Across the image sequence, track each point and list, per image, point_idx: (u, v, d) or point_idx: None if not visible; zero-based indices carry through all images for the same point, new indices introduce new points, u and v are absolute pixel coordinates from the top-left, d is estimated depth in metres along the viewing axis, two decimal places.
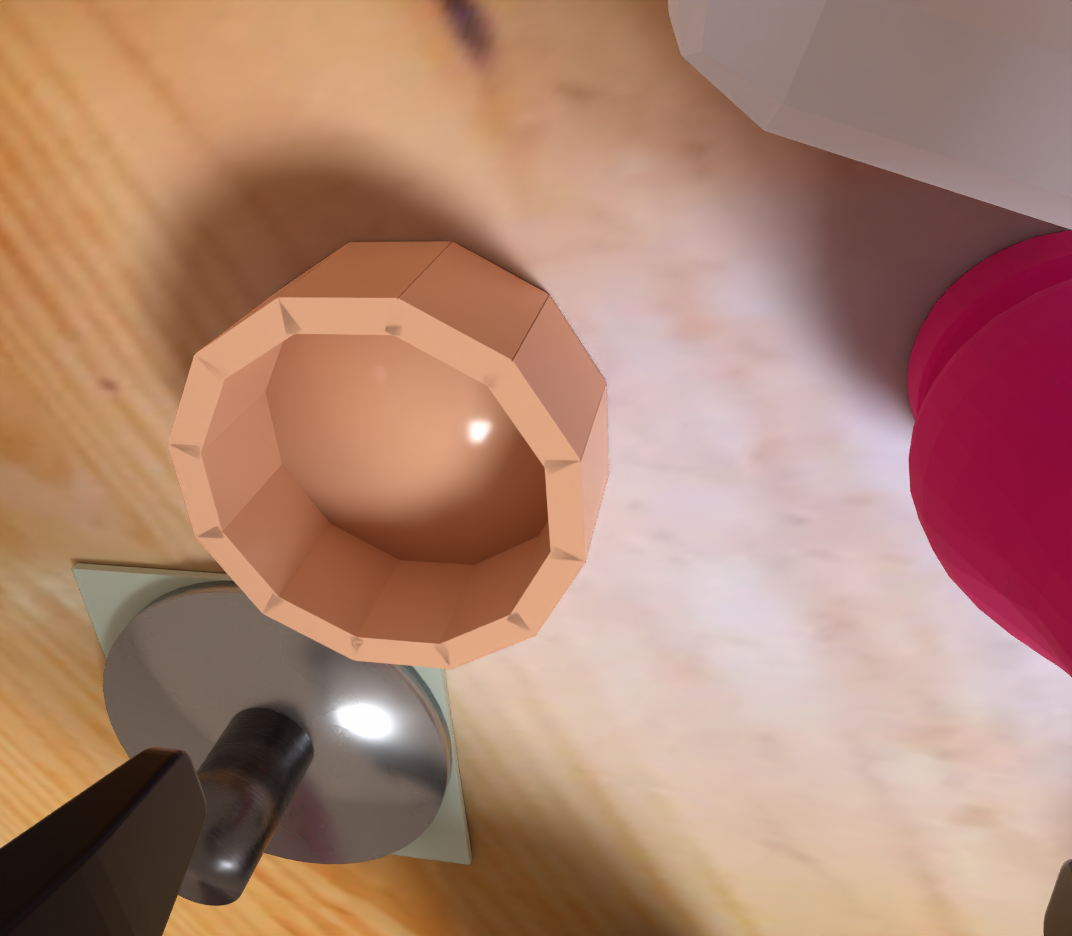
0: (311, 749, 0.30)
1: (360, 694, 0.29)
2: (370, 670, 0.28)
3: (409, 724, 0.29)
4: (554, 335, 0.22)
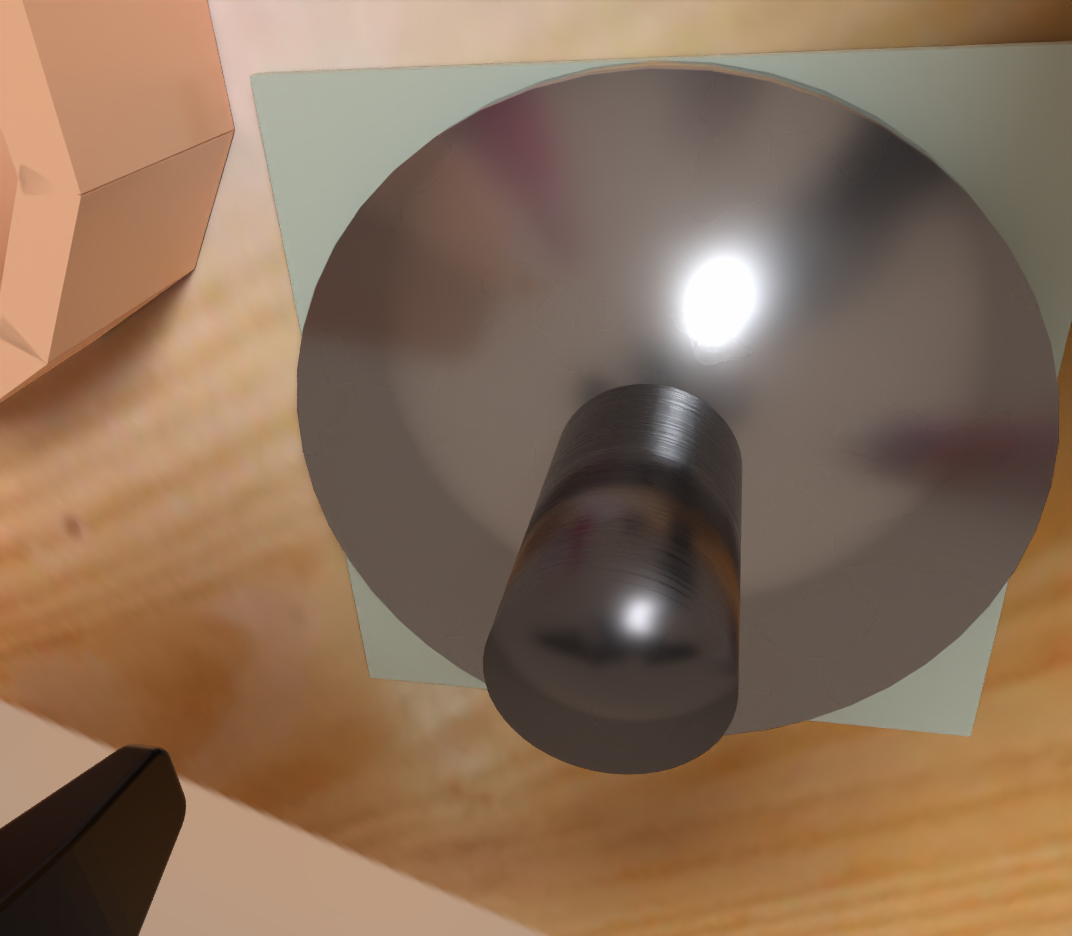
0: (643, 387, 0.14)
1: (477, 251, 0.14)
2: (406, 218, 0.14)
3: (543, 149, 0.13)
4: None
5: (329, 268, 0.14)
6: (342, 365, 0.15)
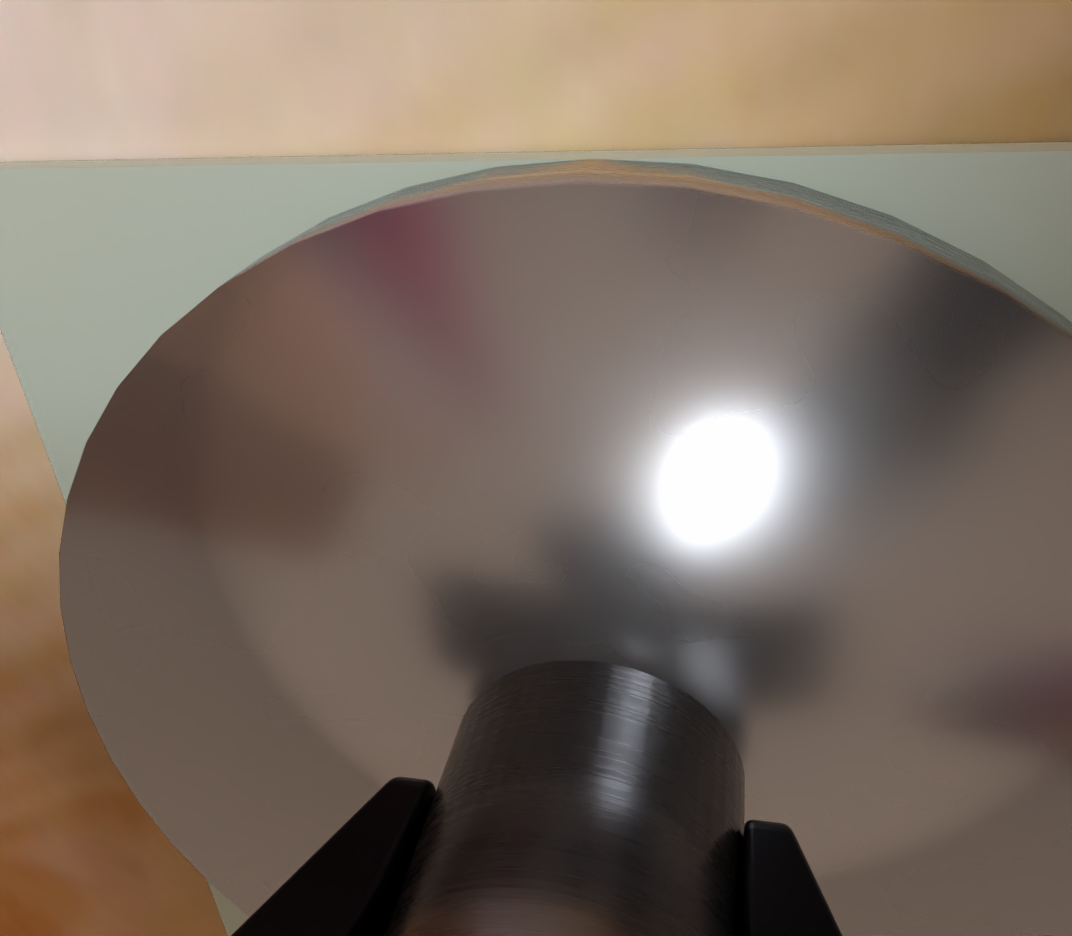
0: (585, 671, 0.09)
1: (308, 460, 0.08)
2: (190, 407, 0.08)
3: (402, 312, 0.07)
4: None
5: (83, 474, 0.09)
6: (125, 606, 0.10)
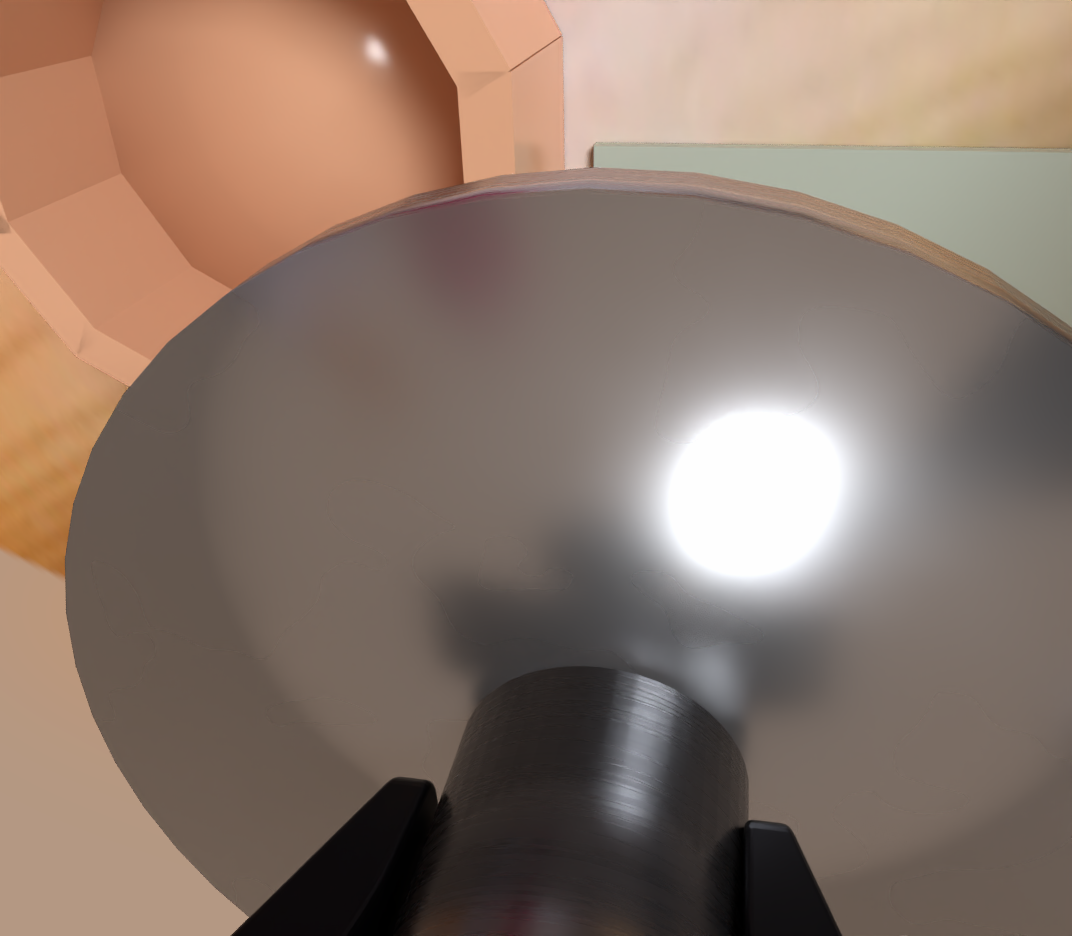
0: (590, 677, 0.09)
1: (314, 466, 0.08)
2: (197, 414, 0.08)
3: (408, 320, 0.07)
4: None
5: (89, 480, 0.09)
6: (130, 611, 0.10)
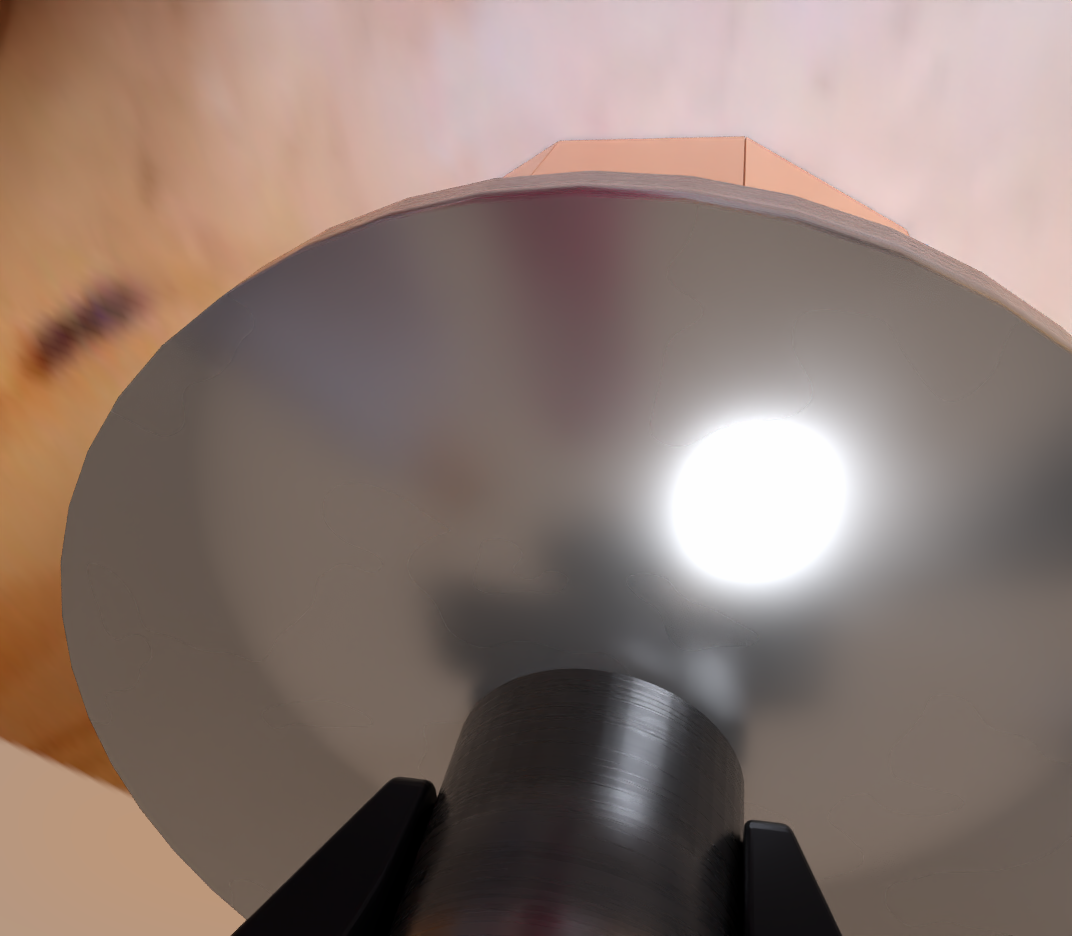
0: (585, 679, 0.09)
1: (309, 470, 0.08)
2: (192, 416, 0.08)
3: (403, 323, 0.07)
4: None
5: (84, 482, 0.09)
6: (126, 613, 0.10)
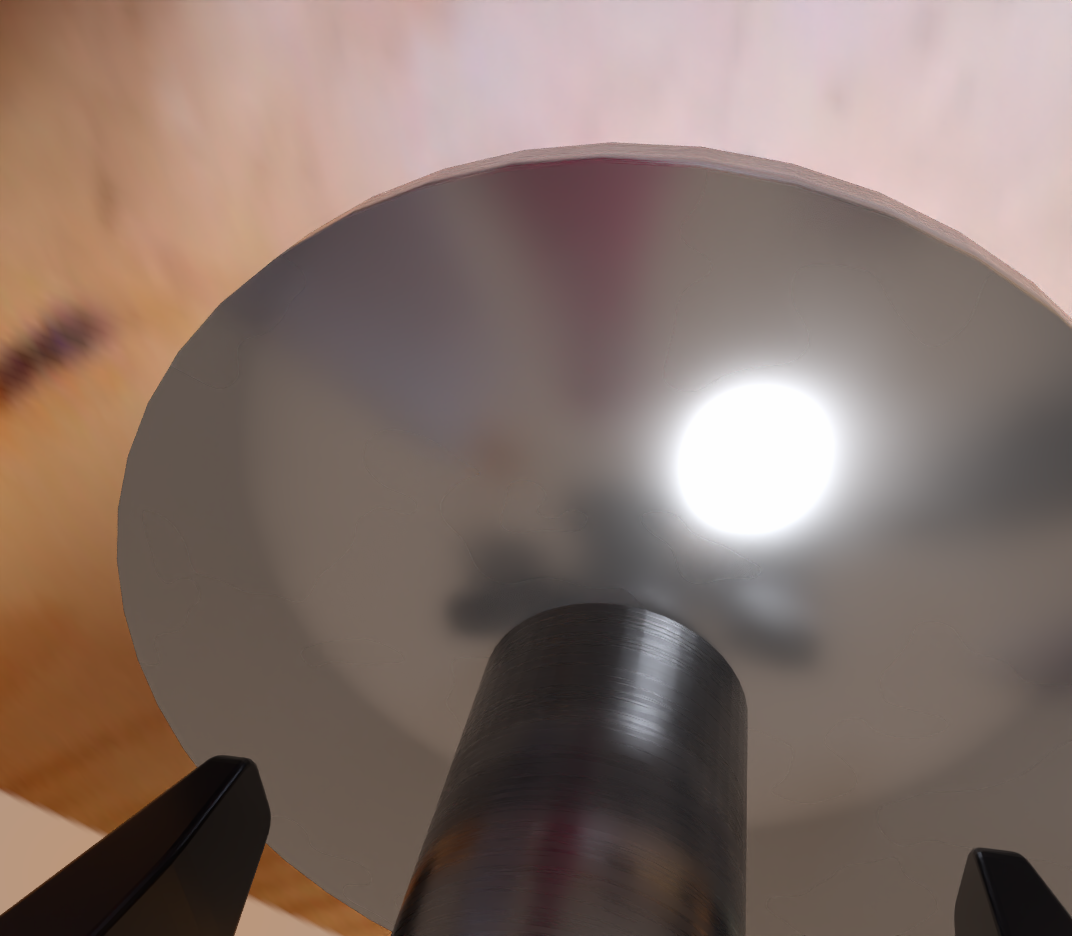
0: (602, 611, 0.10)
1: (352, 417, 0.09)
2: (245, 370, 0.09)
3: (441, 280, 0.08)
4: None
5: (143, 433, 0.10)
6: (177, 558, 0.11)
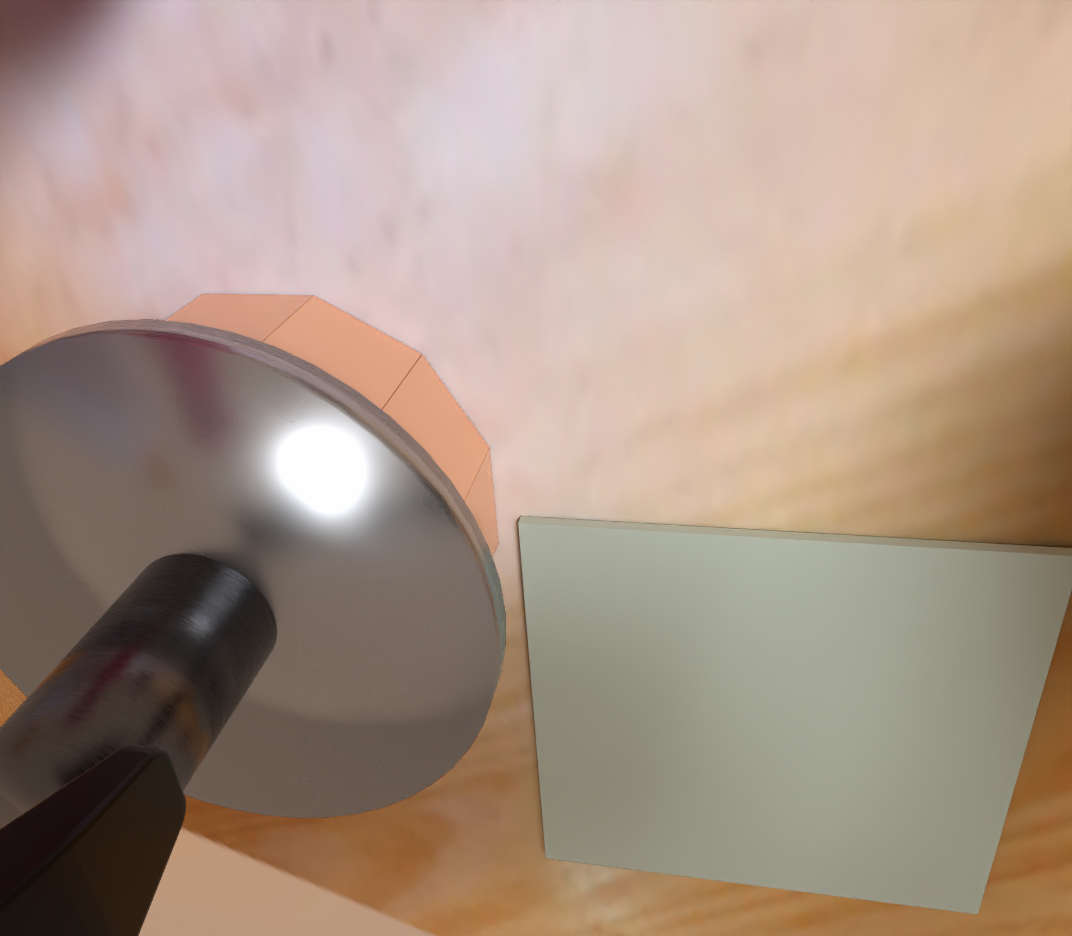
0: (181, 558, 0.18)
1: (38, 454, 0.17)
2: None
3: (66, 387, 0.17)
4: None
5: None
6: None
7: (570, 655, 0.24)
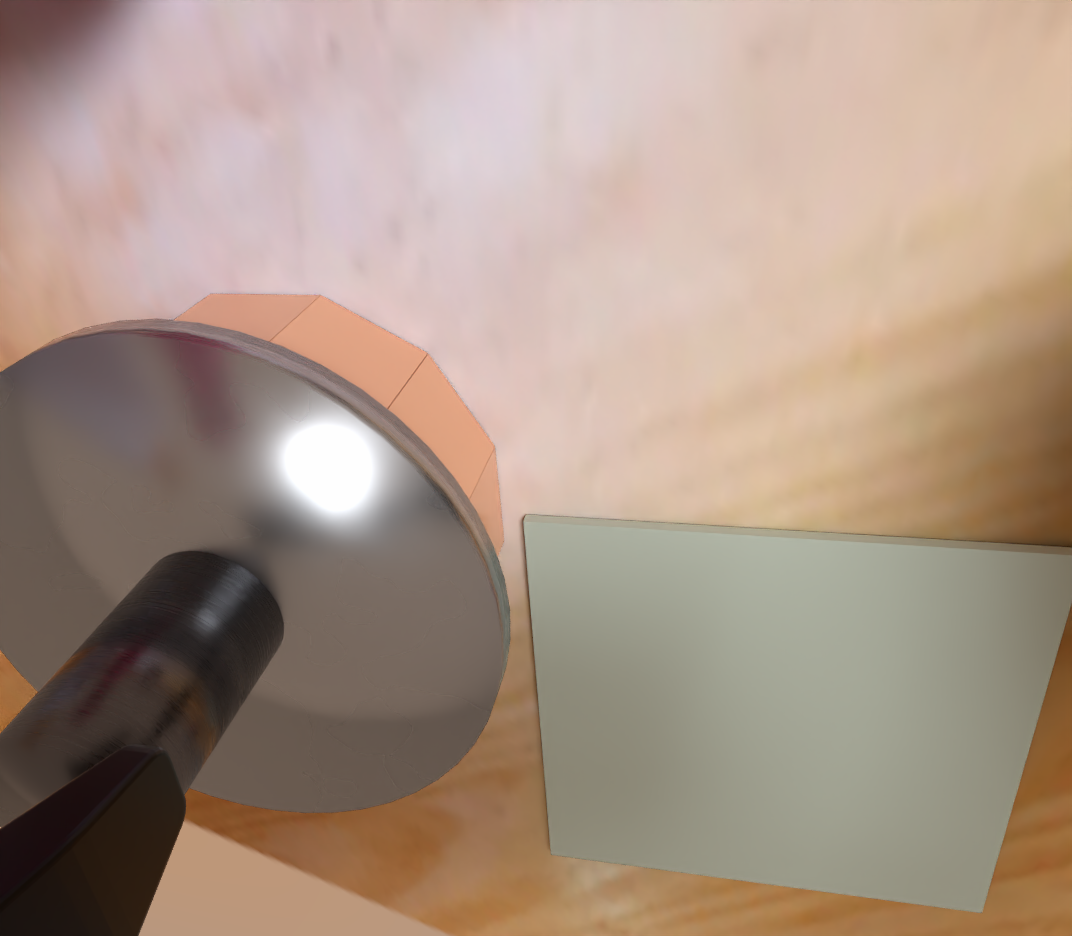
0: (189, 555, 0.18)
1: (49, 452, 0.18)
2: None
3: (76, 386, 0.17)
4: None
5: None
6: None
7: (575, 652, 0.24)
